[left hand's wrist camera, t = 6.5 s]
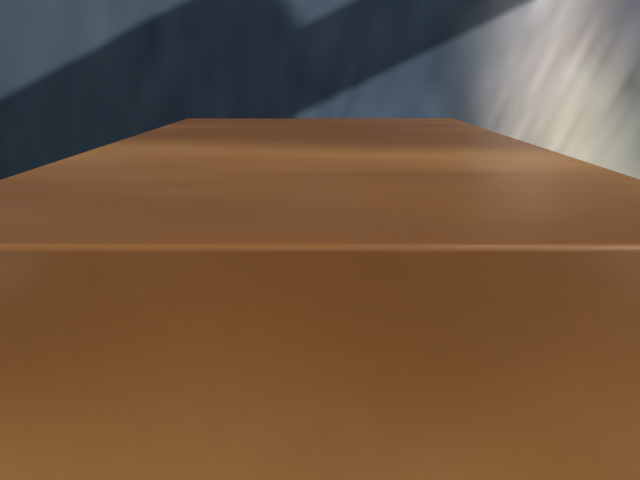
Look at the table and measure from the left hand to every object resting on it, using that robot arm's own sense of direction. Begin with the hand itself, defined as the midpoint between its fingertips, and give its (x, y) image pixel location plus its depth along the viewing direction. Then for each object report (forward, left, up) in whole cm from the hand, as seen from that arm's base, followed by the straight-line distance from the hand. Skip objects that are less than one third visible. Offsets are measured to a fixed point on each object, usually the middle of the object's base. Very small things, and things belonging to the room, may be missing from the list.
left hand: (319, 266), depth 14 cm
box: (+7, +2, -2) cm, 8 cm away
